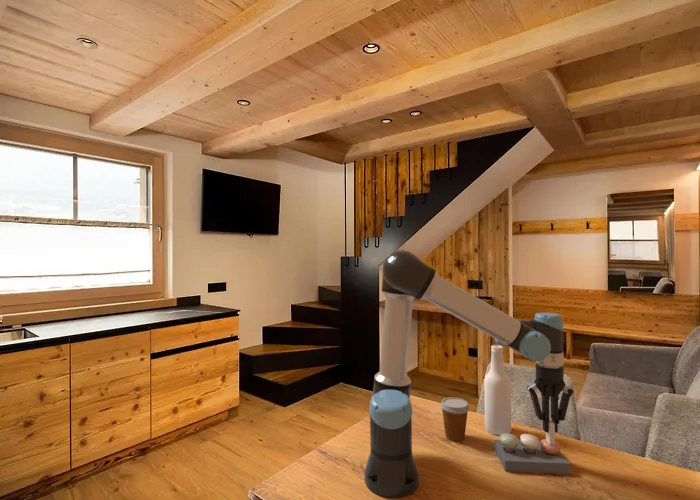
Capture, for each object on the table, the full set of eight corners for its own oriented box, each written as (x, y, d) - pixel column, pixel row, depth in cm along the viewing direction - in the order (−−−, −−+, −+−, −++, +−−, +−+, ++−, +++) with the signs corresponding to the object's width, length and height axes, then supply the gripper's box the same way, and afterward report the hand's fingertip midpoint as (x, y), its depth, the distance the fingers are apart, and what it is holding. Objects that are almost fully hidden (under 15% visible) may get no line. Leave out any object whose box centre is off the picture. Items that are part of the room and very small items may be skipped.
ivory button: (524, 458, 112) (523, 441, 112) (518, 449, 117) (518, 433, 117) (541, 459, 112) (541, 442, 112) (535, 450, 117) (534, 434, 117)
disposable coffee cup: (471, 445, 124) (470, 409, 124) (441, 442, 126) (440, 407, 126) (467, 431, 133) (467, 397, 133) (440, 429, 135) (439, 396, 135)
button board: (505, 471, 109) (505, 460, 109) (493, 449, 121) (493, 439, 121) (570, 474, 108) (570, 463, 108) (552, 451, 120) (552, 442, 120)
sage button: (503, 457, 113) (503, 441, 113) (498, 448, 118) (498, 432, 118) (520, 458, 112) (520, 441, 112) (514, 449, 117) (514, 433, 117)
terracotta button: (545, 463, 112) (544, 447, 112) (538, 454, 117) (538, 438, 117) (562, 464, 111) (562, 447, 111) (555, 455, 116) (555, 439, 116)
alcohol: (514, 428, 135) (513, 345, 135) (508, 439, 128) (507, 350, 128) (488, 422, 140) (487, 341, 140) (481, 431, 133) (480, 347, 133)
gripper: (531, 368, 111) (532, 448, 111) (578, 369, 109) (579, 449, 109) (522, 360, 118) (523, 435, 118) (566, 361, 117) (567, 437, 117)
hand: (550, 442), depth 114 cm, fingers closed
